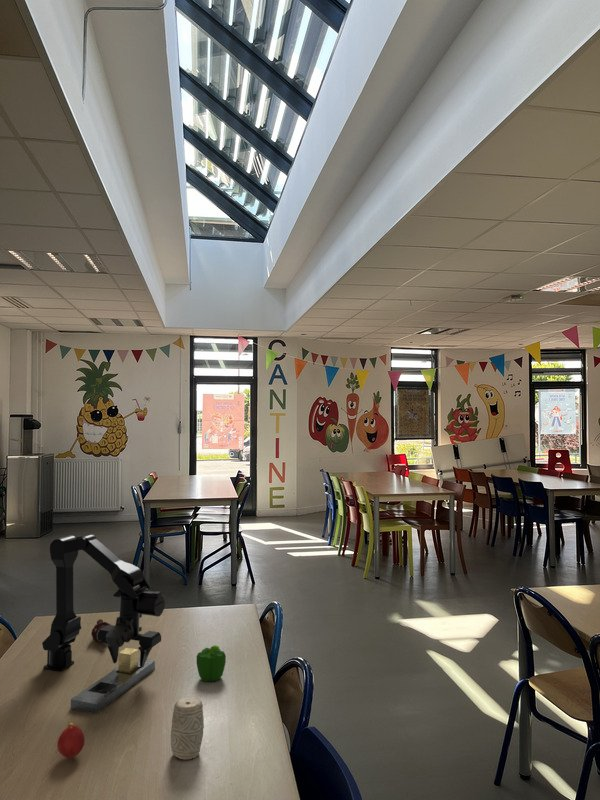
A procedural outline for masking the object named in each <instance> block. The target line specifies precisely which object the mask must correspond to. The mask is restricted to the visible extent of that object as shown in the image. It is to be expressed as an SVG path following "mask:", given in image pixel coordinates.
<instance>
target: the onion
mask: <svg viewBox="0 0 600 800" xmlns="http://www.w3.org/2000/svg"><path fill="white" fill-rule="evenodd" d="M85 741H86V737H85V733H84V731H83V729H81V728H80V727H79V726H77V725H75V724H74V723H73V722H71V723H69V724H68V725H67V727H66V728H65V729H64V730H62V731H61V733H60V735H59V737H58V738H57V745H56V746H57V751H58V753H59V754H60V755H61V756H62V757H64V758H66V759H67V760H73V759H74V758H75V757H76V756H77V755H79V754H80V753H81V751H82V750H83V748H84V746H85V743H86V742H85Z"/></svg>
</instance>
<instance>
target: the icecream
mask: <svg viewBox="0 0 600 800" xmlns="http://www.w3.org/2000/svg"><path fill="white" fill-rule="evenodd" d="M107 625H112V624H110V623H108V622H107V621H104V620H103V619H102V618H101V619H98V620H97V621H96V624H95V625H94V626H93V628H92V630H91V637H92V640H93V641H94V642H95V643H98V644H102V643H101V641H100V640H97V633H98V631H99V630H100V629H102V628H104V627H105V626H107Z"/></svg>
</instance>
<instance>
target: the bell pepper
mask: <svg viewBox="0 0 600 800" xmlns="http://www.w3.org/2000/svg"><path fill="white" fill-rule="evenodd" d="M226 657H227V656H226V653H225V651H222V650H221V649H220V646H218V645H213V646H210V648H209V647H205V648H203V649H202V651H200V652H198V653H197V655H196V667H197V671H198V676H199V678H200V679H201V680H202V682H209V681H213V682H214V681H215V682H217V681H219V680H220V679H221V678H222V677H223V674H224V671H225V666H226V659H227V658H226Z"/></svg>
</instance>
